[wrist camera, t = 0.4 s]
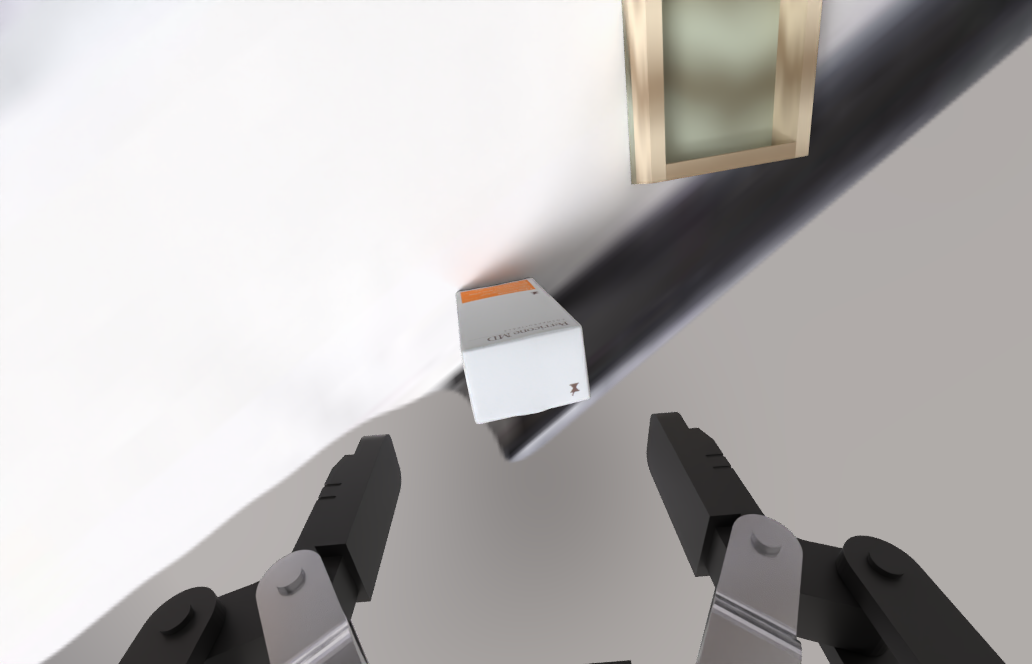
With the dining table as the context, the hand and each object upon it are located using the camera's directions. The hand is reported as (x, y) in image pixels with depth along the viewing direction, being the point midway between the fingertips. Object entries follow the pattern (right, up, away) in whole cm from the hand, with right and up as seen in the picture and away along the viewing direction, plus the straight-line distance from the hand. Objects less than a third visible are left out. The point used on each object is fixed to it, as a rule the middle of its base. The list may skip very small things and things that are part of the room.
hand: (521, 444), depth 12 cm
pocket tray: (+13, +21, +15) cm, 29 cm away
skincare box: (-2, +5, +18) cm, 19 cm away
